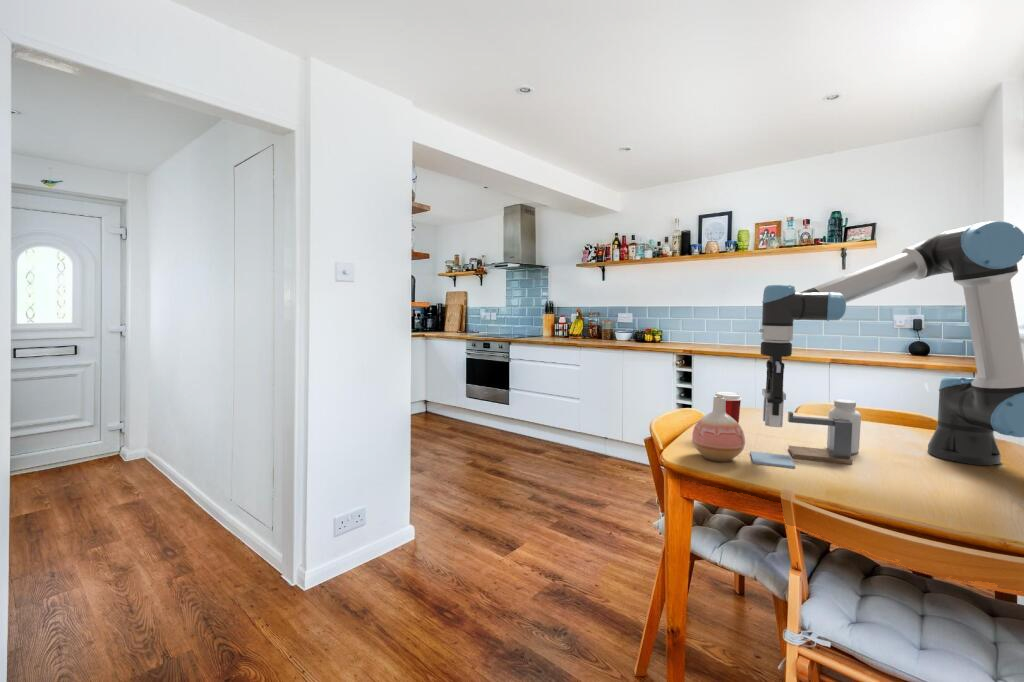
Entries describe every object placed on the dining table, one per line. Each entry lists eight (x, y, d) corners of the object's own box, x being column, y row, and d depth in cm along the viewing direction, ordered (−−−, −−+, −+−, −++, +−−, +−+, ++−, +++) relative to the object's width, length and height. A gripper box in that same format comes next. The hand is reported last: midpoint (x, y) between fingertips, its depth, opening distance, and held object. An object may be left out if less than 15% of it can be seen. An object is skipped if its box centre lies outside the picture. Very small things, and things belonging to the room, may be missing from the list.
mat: (789, 457, 136) (789, 455, 136) (795, 468, 127) (795, 466, 127) (750, 453, 140) (750, 451, 140) (753, 463, 130) (753, 461, 130)
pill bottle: (830, 452, 141) (832, 402, 139) (824, 445, 148) (826, 397, 147) (862, 455, 138) (865, 404, 136) (854, 447, 145) (857, 399, 144)
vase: (683, 458, 134) (685, 397, 133) (702, 448, 144) (704, 390, 143) (734, 470, 125) (736, 404, 124) (750, 458, 135) (753, 396, 134)
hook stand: (843, 454, 138) (845, 413, 137) (852, 464, 130) (854, 420, 129) (784, 449, 144) (786, 409, 143) (789, 457, 135) (791, 415, 135)
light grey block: (780, 421, 135) (782, 390, 134) (784, 427, 128) (786, 394, 127) (760, 419, 137) (762, 388, 136) (763, 425, 130) (765, 393, 129)
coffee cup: (734, 436, 158) (736, 391, 156) (744, 443, 149) (746, 396, 148) (708, 435, 158) (710, 391, 157) (716, 442, 150) (718, 395, 149)
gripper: (757, 338, 141) (754, 414, 143) (765, 343, 123) (761, 430, 125) (786, 339, 139) (782, 416, 140) (798, 344, 120) (793, 433, 122)
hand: (772, 423), depth 132 cm, fingers closed on light grey block, 7 cm apart
